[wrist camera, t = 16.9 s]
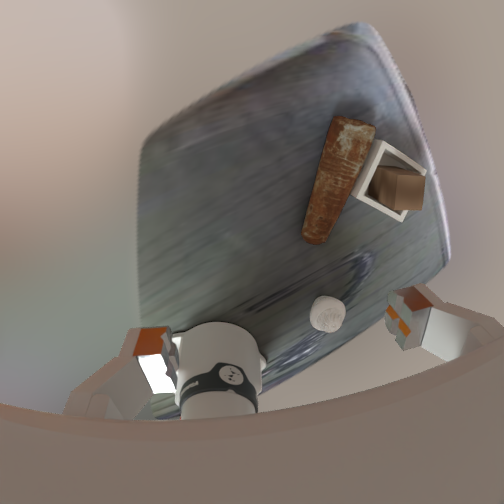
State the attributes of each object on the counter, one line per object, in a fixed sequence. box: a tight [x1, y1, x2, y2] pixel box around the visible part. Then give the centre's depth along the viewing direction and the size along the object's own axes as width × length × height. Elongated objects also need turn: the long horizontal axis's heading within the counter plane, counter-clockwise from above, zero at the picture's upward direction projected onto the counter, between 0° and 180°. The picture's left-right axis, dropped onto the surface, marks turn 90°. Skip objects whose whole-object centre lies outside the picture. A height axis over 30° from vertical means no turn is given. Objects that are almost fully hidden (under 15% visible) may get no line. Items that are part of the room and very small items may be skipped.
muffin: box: [310, 296, 346, 333], centre depth 47 cm, size 6×6×7 cm
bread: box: [301, 116, 376, 245], centre depth 39 cm, size 6×19×6 cm, turn 162°
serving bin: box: [350, 139, 427, 222], centre depth 39 cm, size 9×9×5 cm
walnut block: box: [368, 165, 425, 210], centre depth 37 cm, size 5×5×8 cm
